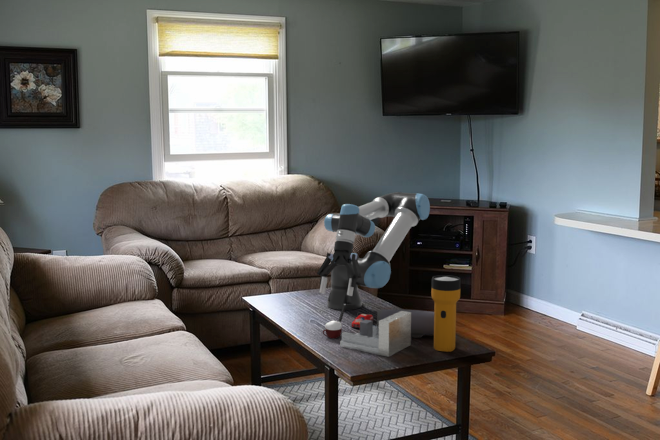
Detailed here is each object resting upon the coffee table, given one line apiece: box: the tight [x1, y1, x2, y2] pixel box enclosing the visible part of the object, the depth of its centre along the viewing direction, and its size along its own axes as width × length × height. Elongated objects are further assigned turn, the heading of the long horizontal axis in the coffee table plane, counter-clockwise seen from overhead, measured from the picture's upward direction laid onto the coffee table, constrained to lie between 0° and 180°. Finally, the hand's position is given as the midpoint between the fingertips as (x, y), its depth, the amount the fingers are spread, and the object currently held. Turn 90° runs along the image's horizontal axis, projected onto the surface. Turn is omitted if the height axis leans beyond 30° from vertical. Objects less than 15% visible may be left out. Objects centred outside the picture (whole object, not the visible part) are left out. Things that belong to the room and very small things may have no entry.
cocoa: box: [322, 304, 346, 340], centre depth 255 cm, size 10×6×12 cm, turn 95°
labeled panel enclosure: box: [339, 311, 412, 358], centre depth 245 cm, size 16×20×12 cm
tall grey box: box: [359, 320, 374, 337], centre depth 248 cm, size 4×3×6 cm
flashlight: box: [430, 274, 462, 353], centre depth 241 cm, size 10×26×10 cm
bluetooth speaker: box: [376, 308, 434, 338], centre depth 257 cm, size 23×9×10 cm, turn 78°
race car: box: [351, 313, 374, 329], centre depth 272 cm, size 13×5×4 cm, turn 152°
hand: (335, 294), depth 269 cm, fingers open, 13 cm apart
